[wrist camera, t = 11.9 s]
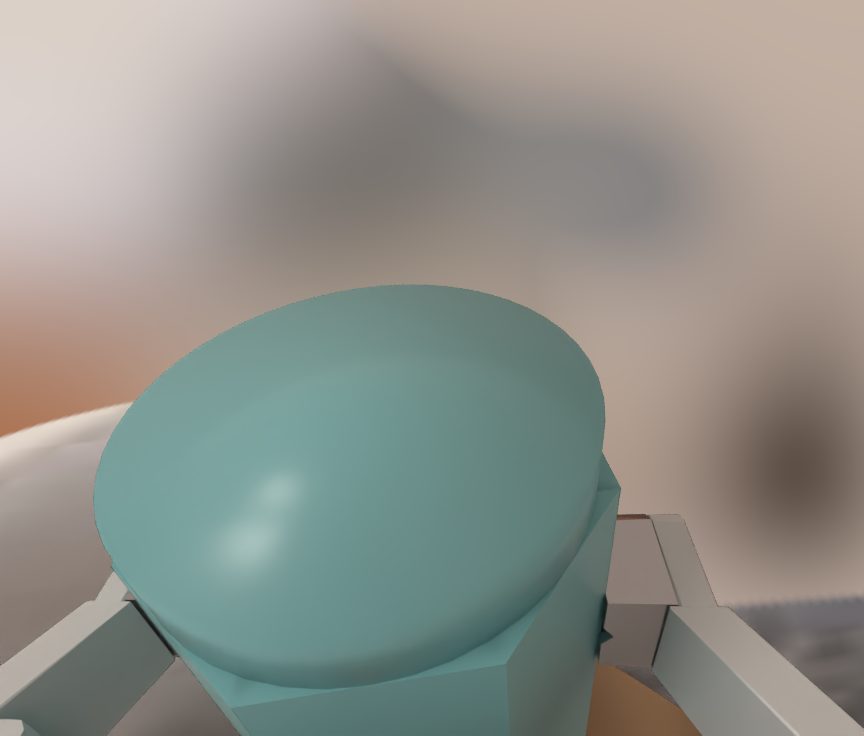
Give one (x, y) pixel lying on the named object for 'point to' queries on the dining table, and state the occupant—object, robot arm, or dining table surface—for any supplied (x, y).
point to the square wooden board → (632, 708)
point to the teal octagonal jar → (373, 516)
